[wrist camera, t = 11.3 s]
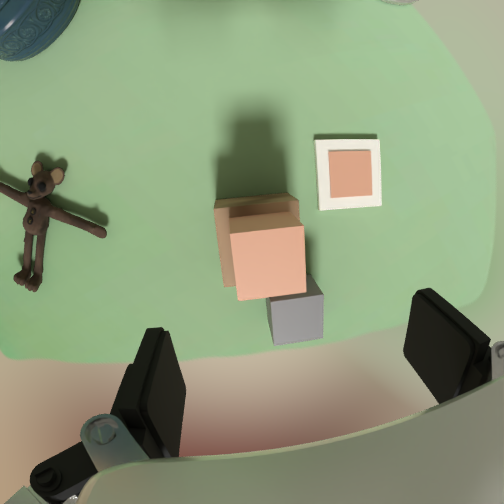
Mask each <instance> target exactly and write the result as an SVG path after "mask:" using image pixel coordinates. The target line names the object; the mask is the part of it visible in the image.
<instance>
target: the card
mask: <svg viewBox="0 0 504 504" xmlns="http://www.w3.org/2000/svg"><path fill="white" fill-rule="evenodd" d="M314 150H315V164H316V180H317V199H318V210H320V211H321V210H332V209H344V208H357V207H370V206H381V162H380V142H379V140H375V139H332V140H314Z"/></svg>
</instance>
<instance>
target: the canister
mask: <svg viewBox="0 0 504 504" xmlns="http://www.w3.org/2000/svg"><path fill="white" fill-rule="evenodd" d="M79 1H80V0H0V59H1V60H5V61H23V60H26V59H29V58H32V57H34V56H35V55H37V54H39V53H40V52H42V51H43V50H45V49H46V48H47V47H48V46H50V45H51V44H52V43H53V42H54V41H55V40H56V39H57V38H58V37H59V36H60V35H61V33H62V32H63V31H64V30H65V28H66V27H67V26H68V24H69V23H70V21H71V20H72V18H73V16H74V14H75V12H76V10H77V7H78V5H79Z"/></svg>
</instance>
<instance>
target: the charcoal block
mask: <svg viewBox="0 0 504 504" xmlns="http://www.w3.org/2000/svg"><path fill="white" fill-rule="evenodd" d="M323 302H324V294H323V293H322V291H321V290H320V288H319V287H318V285H317V284H316V282H315V281H314V279H313V277H312V276H311V274H310V275H306V292H304V293H297V294H289V295H282V296H274V297H267V298H266V303H267V315H268V323H269V327H270V331H271V335H272V339H273V343H274V346H276V345H283V344H290V343H296V342H303V341H309V340H315V339H320V338H323Z"/></svg>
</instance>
